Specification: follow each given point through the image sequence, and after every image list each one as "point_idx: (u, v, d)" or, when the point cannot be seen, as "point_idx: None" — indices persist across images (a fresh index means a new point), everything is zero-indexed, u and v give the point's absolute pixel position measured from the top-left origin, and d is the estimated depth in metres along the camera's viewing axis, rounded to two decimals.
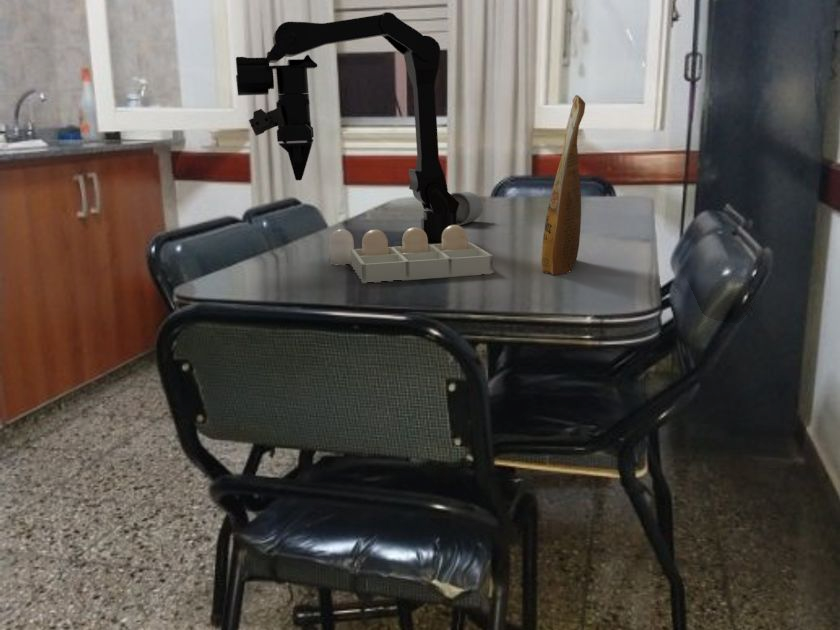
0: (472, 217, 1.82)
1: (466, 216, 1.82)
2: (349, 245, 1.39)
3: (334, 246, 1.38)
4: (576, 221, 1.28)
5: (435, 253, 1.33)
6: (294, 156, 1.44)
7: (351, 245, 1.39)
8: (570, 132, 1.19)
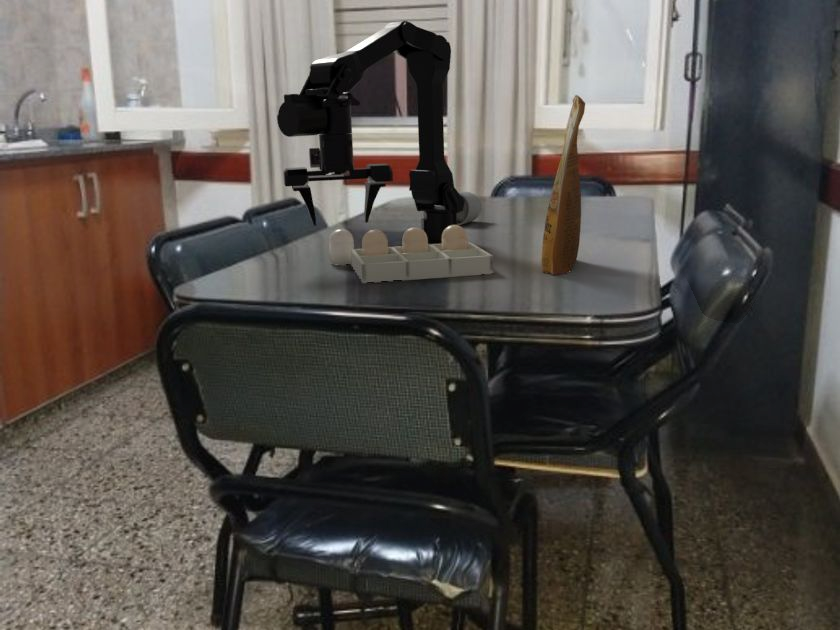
0: (471, 217, 1.82)
1: (465, 216, 1.82)
2: (349, 245, 1.39)
3: (334, 246, 1.38)
4: (576, 221, 1.28)
5: (435, 253, 1.33)
6: None
7: (351, 245, 1.39)
8: (570, 132, 1.19)
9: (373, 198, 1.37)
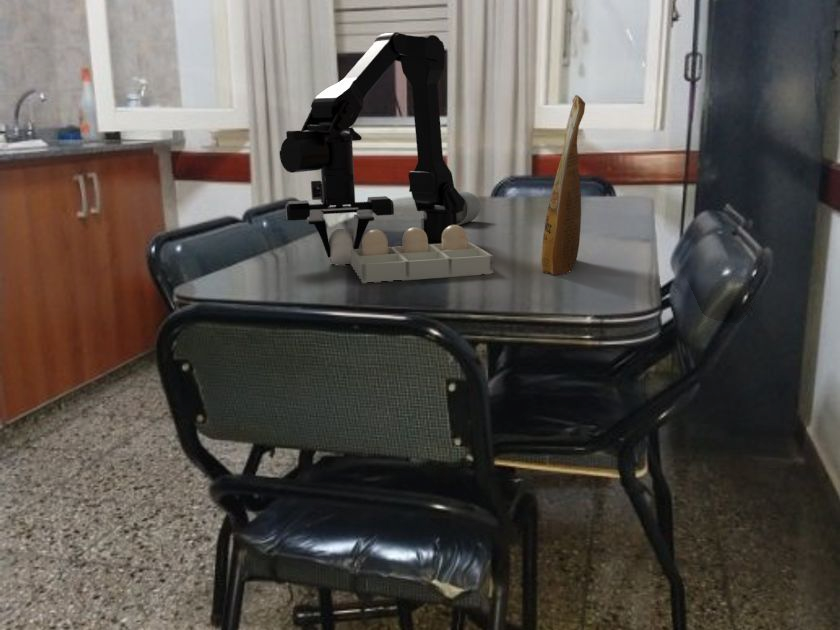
0: (470, 217, 1.82)
1: (464, 216, 1.82)
2: (349, 245, 1.39)
3: (334, 246, 1.38)
4: (576, 221, 1.28)
5: (435, 253, 1.33)
6: None
7: (351, 245, 1.39)
8: (570, 132, 1.19)
9: (362, 232, 1.38)
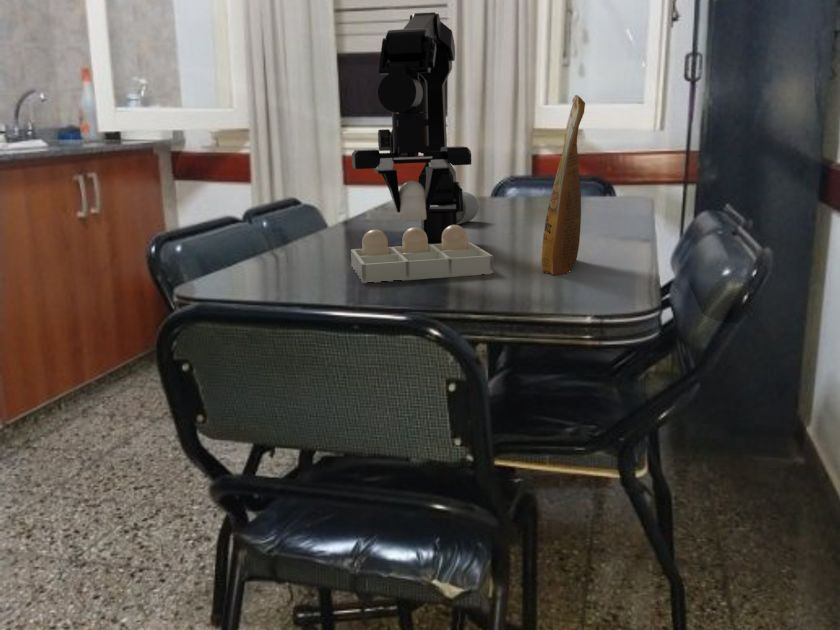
0: (468, 217, 1.82)
1: (462, 216, 1.82)
2: (421, 198, 1.26)
3: (405, 200, 1.26)
4: (576, 221, 1.28)
5: (435, 253, 1.33)
6: None
7: (423, 198, 1.26)
8: (570, 132, 1.19)
9: (436, 184, 1.25)
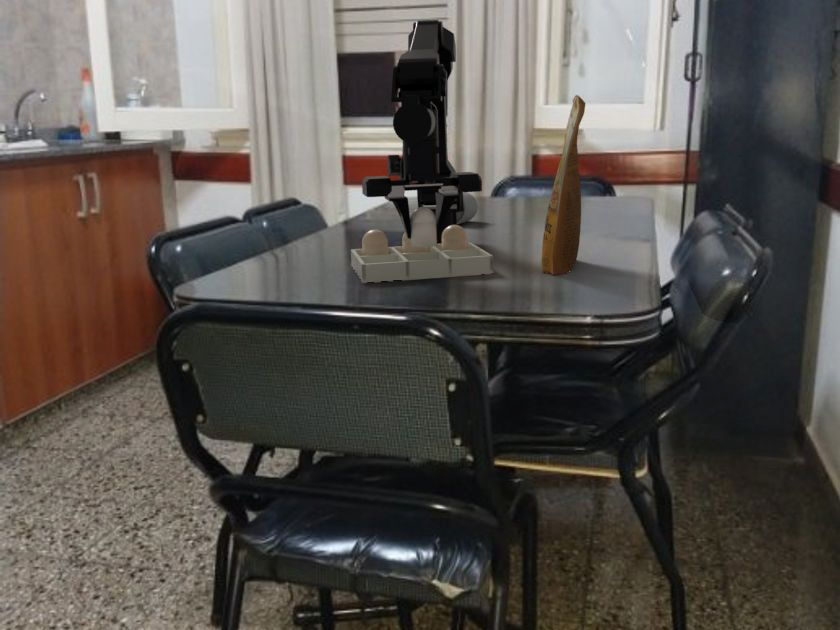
0: (467, 217, 1.82)
1: (461, 216, 1.82)
2: (432, 225, 1.26)
3: (416, 226, 1.26)
4: (576, 221, 1.28)
5: (435, 253, 1.33)
6: None
7: (434, 225, 1.27)
8: (570, 132, 1.19)
9: (446, 210, 1.26)
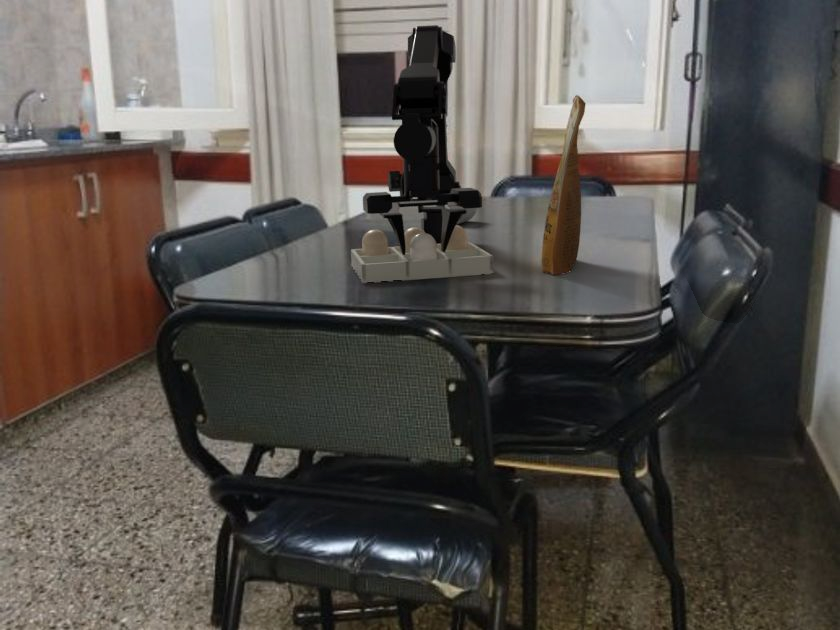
0: (467, 217, 1.83)
1: (460, 216, 1.82)
2: (432, 250, 1.27)
3: (417, 252, 1.27)
4: (576, 221, 1.28)
5: None
6: None
7: (435, 250, 1.28)
8: (570, 132, 1.19)
9: (453, 226, 1.27)
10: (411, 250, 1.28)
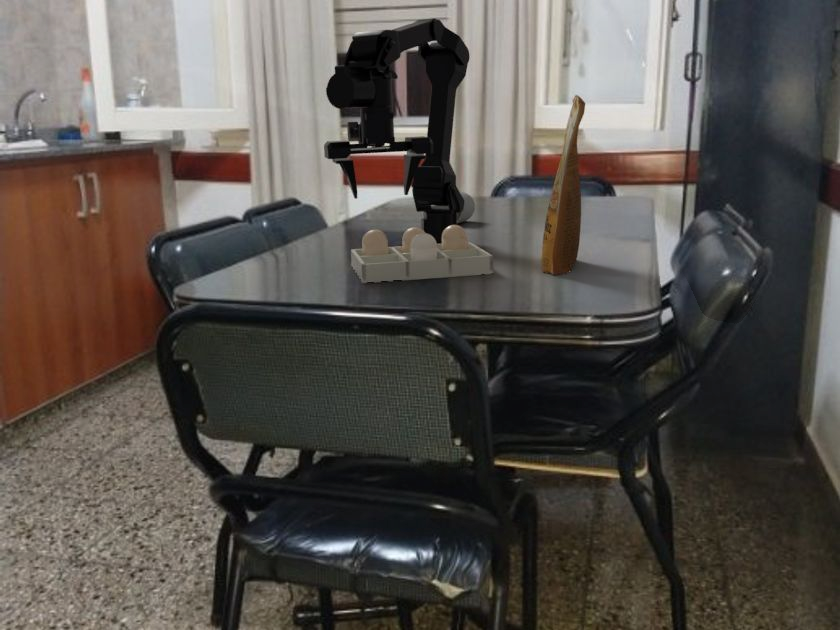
0: (465, 217, 1.83)
1: (458, 216, 1.83)
2: (433, 251, 1.27)
3: (418, 252, 1.27)
4: (576, 221, 1.28)
5: None
6: (347, 173, 1.39)
7: (435, 251, 1.28)
8: (570, 132, 1.19)
9: (414, 170, 1.39)
10: (412, 250, 1.28)
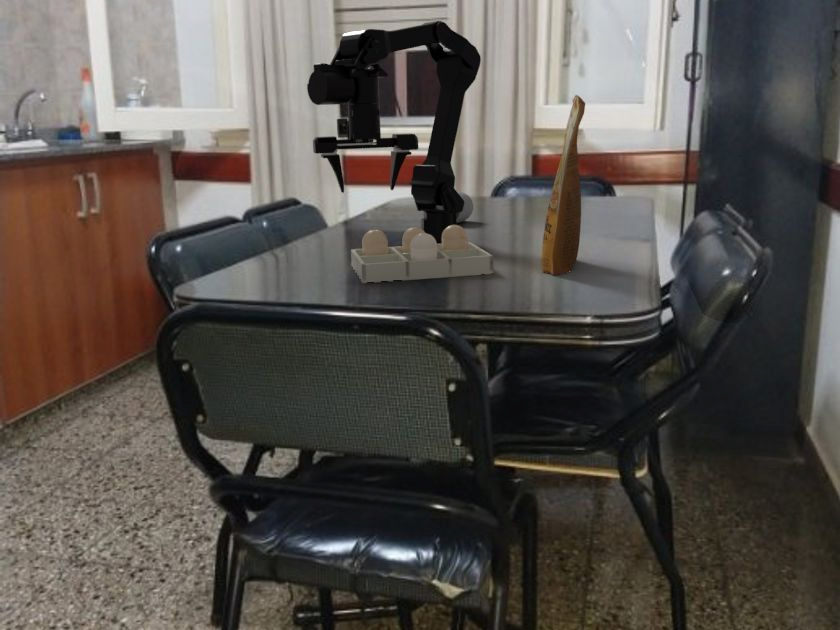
0: (463, 217, 1.83)
1: (457, 216, 1.83)
2: (433, 251, 1.27)
3: (418, 252, 1.27)
4: (576, 221, 1.28)
5: None
6: None
7: (435, 251, 1.28)
8: (570, 132, 1.19)
9: (399, 166, 1.43)
10: (412, 250, 1.28)
